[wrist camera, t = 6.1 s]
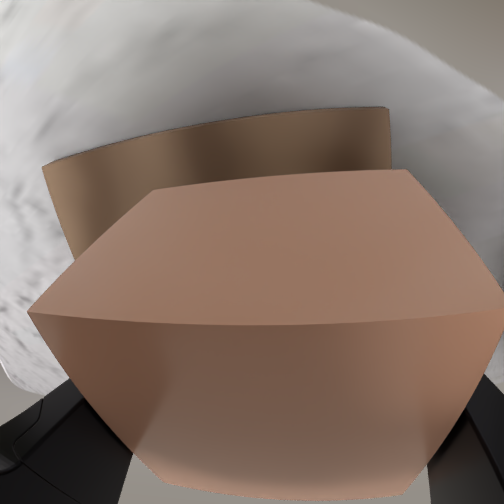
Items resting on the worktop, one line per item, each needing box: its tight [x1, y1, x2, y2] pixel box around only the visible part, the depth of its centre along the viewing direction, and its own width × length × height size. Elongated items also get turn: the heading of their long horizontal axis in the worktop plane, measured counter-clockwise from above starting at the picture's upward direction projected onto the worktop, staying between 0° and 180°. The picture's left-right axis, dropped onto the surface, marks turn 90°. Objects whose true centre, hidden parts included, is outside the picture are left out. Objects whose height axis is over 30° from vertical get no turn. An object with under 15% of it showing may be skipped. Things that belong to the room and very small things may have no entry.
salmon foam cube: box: [27, 169, 504, 501], centre depth 8 cm, size 7×7×6 cm
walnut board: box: [42, 107, 391, 260], centre depth 18 cm, size 18×18×1 cm
